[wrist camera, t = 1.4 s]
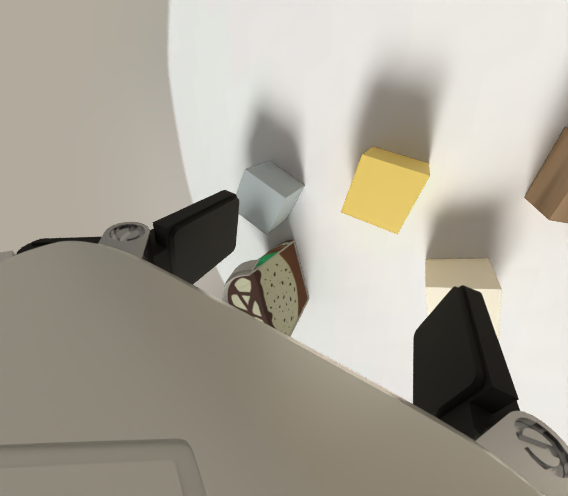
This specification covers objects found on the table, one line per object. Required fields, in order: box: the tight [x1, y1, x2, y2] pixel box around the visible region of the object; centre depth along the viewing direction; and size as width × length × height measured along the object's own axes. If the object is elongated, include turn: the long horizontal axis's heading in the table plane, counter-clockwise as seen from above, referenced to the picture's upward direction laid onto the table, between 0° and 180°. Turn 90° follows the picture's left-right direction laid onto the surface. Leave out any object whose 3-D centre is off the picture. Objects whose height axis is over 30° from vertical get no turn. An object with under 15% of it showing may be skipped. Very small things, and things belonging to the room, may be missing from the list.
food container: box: [222, 240, 309, 337], centre depth 31 cm, size 12×6×10 cm, turn 18°
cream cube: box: [425, 258, 502, 339], centre depth 22 cm, size 5×5×5 cm
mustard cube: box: [341, 147, 430, 234], centre depth 21 cm, size 5×5×5 cm
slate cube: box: [236, 161, 305, 235], centre depth 27 cm, size 5×5×5 cm
